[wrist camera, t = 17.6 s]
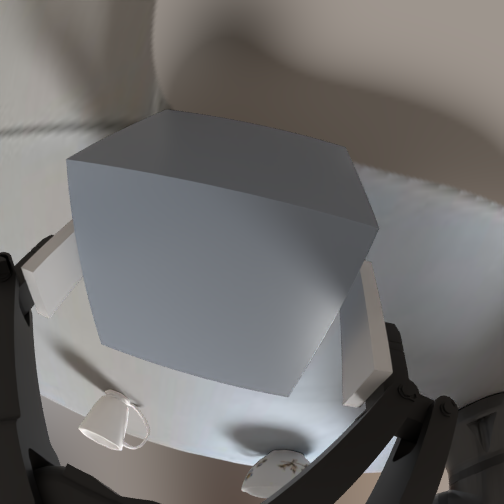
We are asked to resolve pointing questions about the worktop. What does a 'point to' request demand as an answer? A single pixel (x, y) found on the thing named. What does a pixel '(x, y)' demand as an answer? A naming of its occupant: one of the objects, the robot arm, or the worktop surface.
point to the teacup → (273, 472)
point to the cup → (110, 421)
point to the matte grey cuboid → (218, 244)
